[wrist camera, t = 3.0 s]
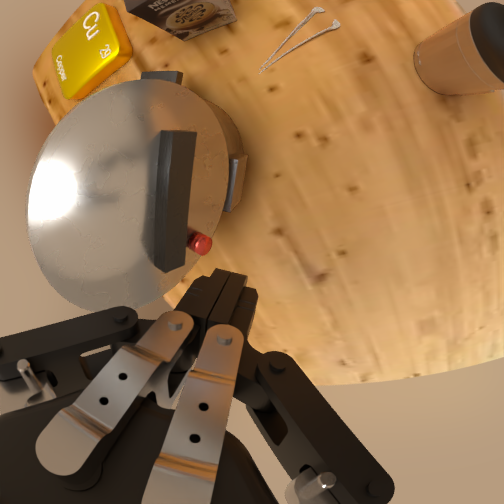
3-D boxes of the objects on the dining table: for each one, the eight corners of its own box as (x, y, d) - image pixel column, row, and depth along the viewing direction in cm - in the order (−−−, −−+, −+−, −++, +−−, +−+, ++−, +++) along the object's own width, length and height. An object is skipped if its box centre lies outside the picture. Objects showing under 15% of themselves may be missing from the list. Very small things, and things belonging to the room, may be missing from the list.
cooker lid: (233, 93, 25) (255, 95, 24) (209, 265, 34) (226, 275, 33) (24, 80, 10) (31, 74, 8) (56, 338, 19) (68, 359, 17)
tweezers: (318, 6, 28) (318, 2, 26) (341, 26, 29) (342, 22, 27) (236, 77, 36) (232, 75, 34) (258, 97, 37) (255, 96, 35)
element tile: (63, 50, 35) (47, 49, 31) (115, 3, 30) (100, -3, 26) (80, 103, 40) (63, 104, 36) (137, 56, 35) (120, 51, 31)
